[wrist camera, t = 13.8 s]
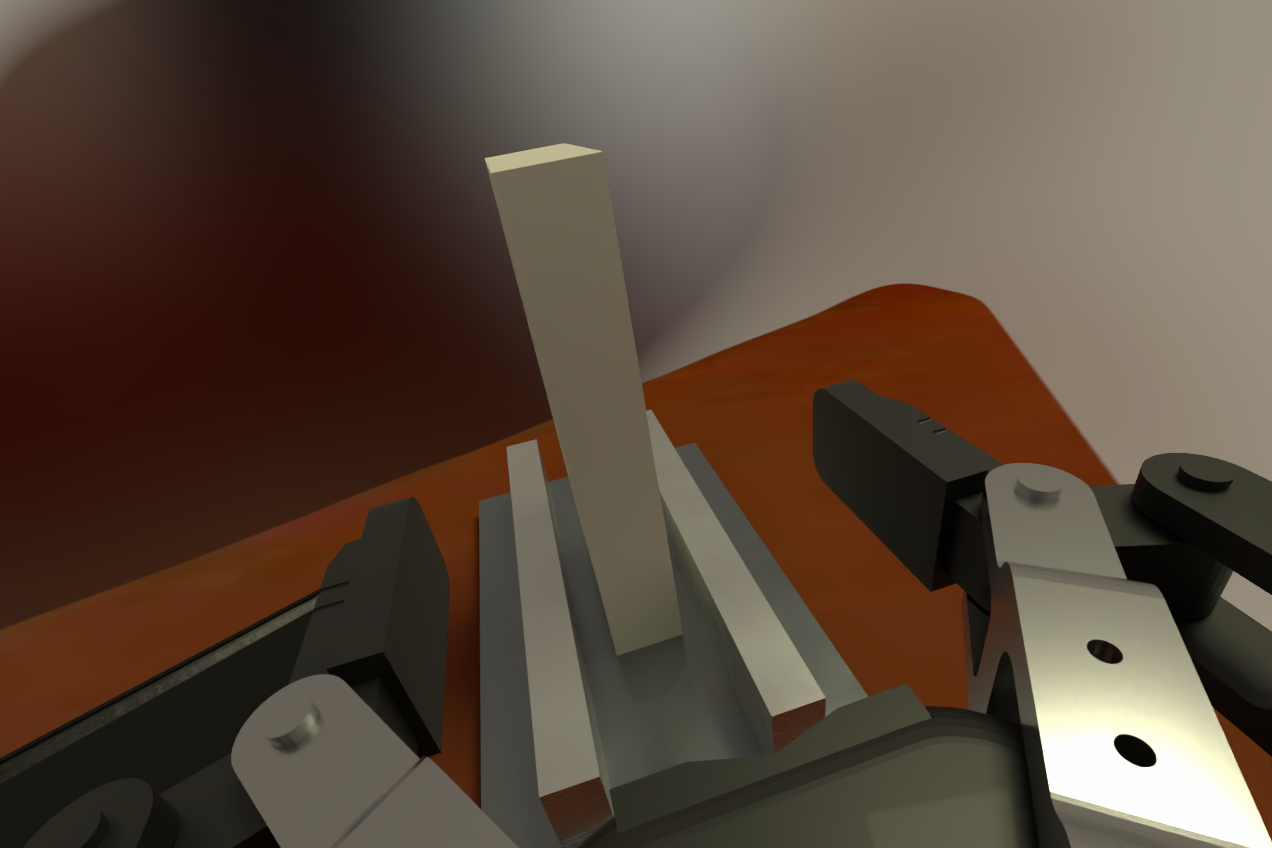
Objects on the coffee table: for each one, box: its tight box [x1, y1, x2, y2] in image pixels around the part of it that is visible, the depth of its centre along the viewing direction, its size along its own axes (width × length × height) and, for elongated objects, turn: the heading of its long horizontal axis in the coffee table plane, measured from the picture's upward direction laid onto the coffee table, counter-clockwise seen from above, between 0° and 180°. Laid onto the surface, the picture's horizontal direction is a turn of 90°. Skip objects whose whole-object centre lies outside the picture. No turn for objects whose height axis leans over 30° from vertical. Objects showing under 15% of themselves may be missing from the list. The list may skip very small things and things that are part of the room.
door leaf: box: [485, 143, 683, 656], centre depth 19 cm, size 3×6×16 cm, turn 15°
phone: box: [0, 589, 321, 848], centre depth 21 cm, size 8×1×15 cm
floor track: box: [479, 410, 868, 848], centre depth 22 cm, size 12×18×4 cm, turn 14°
